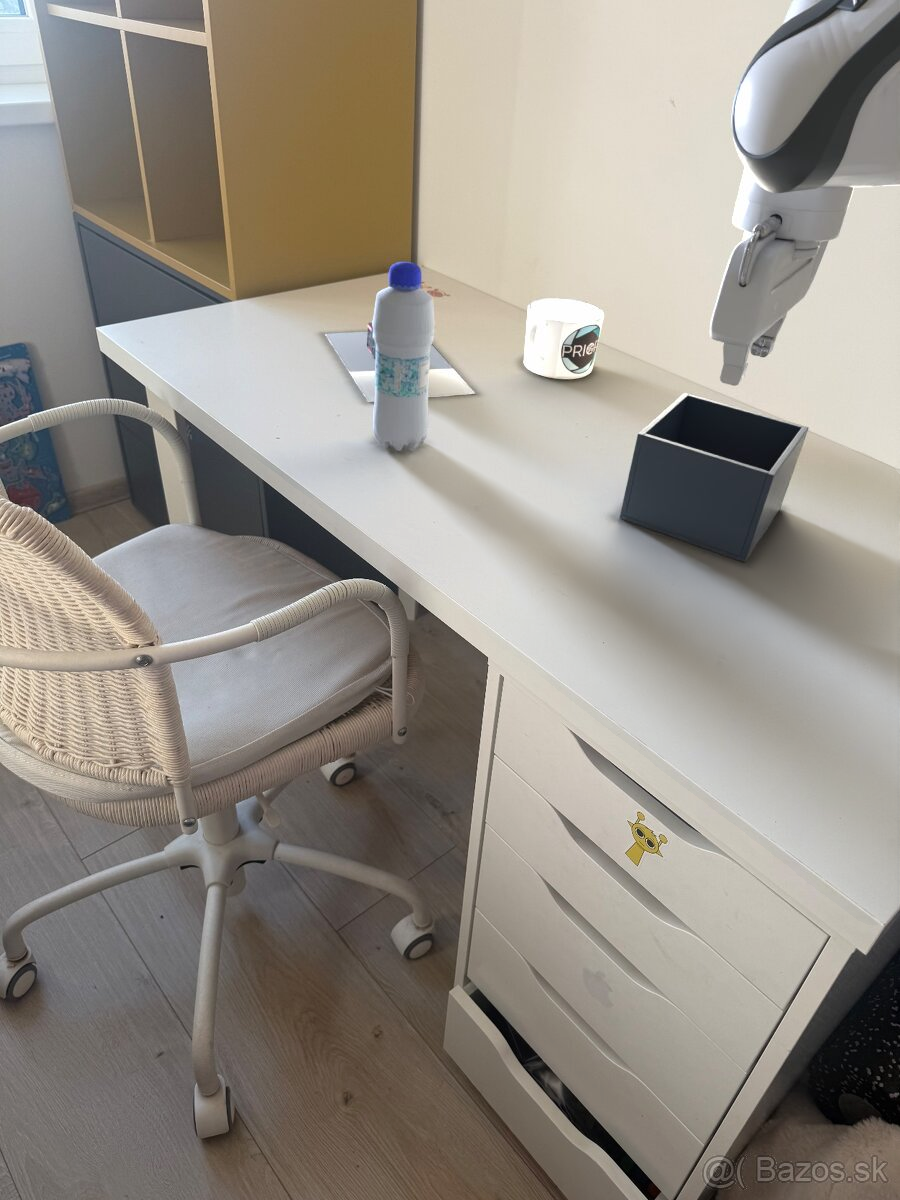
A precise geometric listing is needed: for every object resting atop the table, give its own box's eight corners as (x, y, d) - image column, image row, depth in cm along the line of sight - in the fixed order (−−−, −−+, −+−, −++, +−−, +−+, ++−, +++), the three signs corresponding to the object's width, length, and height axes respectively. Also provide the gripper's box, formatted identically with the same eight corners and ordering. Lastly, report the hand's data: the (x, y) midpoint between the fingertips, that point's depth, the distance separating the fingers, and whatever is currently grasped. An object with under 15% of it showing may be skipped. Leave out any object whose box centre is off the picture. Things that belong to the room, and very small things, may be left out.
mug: (548, 347, 125) (556, 292, 120) (608, 368, 119) (618, 311, 115) (493, 369, 116) (499, 311, 111) (555, 392, 111) (564, 332, 106)
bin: (780, 508, 89) (809, 427, 84) (744, 562, 80) (774, 475, 74) (664, 471, 94) (684, 392, 89) (619, 518, 85) (637, 433, 80)
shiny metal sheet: (368, 402, 104) (368, 369, 102) (324, 334, 123) (324, 305, 120) (475, 393, 109) (478, 362, 106) (417, 329, 127) (419, 301, 125)
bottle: (427, 457, 93) (437, 274, 81) (368, 453, 93) (369, 269, 81) (430, 431, 99) (439, 256, 87) (373, 427, 99) (375, 251, 87)
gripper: (797, 234, 61) (747, 411, 69) (853, 198, 75) (805, 347, 83) (714, 219, 64) (675, 391, 72) (783, 187, 78) (744, 333, 86)
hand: (746, 367), depth 78 cm, fingers open, 8 cm apart
